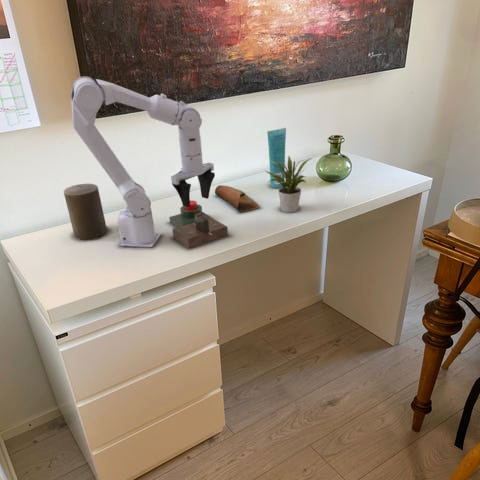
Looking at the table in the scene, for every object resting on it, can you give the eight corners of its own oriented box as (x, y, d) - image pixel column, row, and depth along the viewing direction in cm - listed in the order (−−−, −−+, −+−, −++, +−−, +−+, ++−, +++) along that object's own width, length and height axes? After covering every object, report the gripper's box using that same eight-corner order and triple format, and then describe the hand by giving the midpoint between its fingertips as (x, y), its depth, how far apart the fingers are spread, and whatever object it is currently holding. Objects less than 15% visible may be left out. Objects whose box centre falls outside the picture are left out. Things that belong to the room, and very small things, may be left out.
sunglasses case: (261, 206, 160) (251, 191, 155) (245, 220, 160) (235, 206, 155) (236, 190, 173) (226, 175, 169) (221, 203, 173) (211, 189, 169)
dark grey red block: (209, 231, 139) (208, 219, 137) (204, 233, 139) (203, 220, 137) (200, 225, 143) (199, 212, 141) (195, 226, 143) (194, 214, 141)
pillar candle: (99, 240, 145) (88, 190, 136) (68, 239, 147) (55, 190, 138) (112, 227, 153) (102, 178, 144) (82, 226, 154) (71, 178, 146)
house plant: (295, 196, 167) (296, 146, 158) (323, 208, 157) (325, 156, 148) (260, 206, 161) (259, 155, 152) (287, 220, 151) (287, 166, 142)
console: (192, 251, 137) (191, 240, 135) (173, 238, 144) (172, 228, 142) (231, 238, 142) (231, 227, 141) (211, 226, 150) (210, 216, 148)
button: (188, 212, 150) (188, 205, 149) (183, 208, 153) (182, 202, 152) (199, 209, 152) (198, 202, 151) (193, 205, 155) (192, 199, 153)
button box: (182, 231, 148) (181, 218, 146) (168, 222, 154) (167, 210, 152) (211, 222, 152) (210, 210, 150) (196, 214, 158) (195, 202, 156)
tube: (280, 181, 180) (280, 126, 169) (289, 185, 177) (290, 128, 166) (264, 186, 176) (263, 130, 165) (273, 190, 173) (273, 132, 162)
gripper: (199, 145, 141) (203, 191, 149) (161, 158, 132) (167, 206, 140) (217, 148, 137) (221, 196, 145) (179, 162, 128) (185, 212, 136)
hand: (196, 201), depth 142 cm, fingers open, 7 cm apart
